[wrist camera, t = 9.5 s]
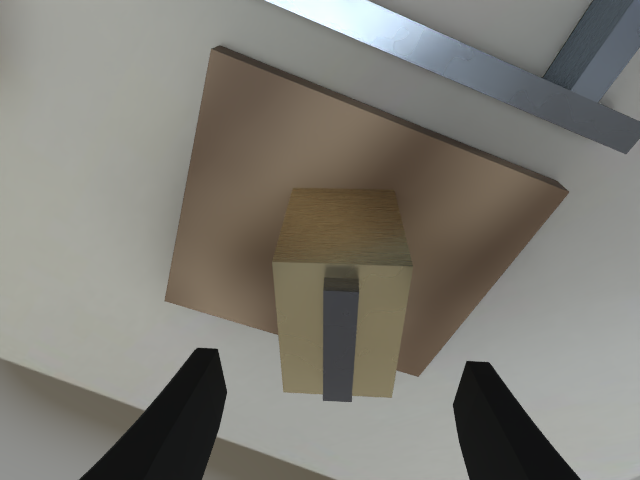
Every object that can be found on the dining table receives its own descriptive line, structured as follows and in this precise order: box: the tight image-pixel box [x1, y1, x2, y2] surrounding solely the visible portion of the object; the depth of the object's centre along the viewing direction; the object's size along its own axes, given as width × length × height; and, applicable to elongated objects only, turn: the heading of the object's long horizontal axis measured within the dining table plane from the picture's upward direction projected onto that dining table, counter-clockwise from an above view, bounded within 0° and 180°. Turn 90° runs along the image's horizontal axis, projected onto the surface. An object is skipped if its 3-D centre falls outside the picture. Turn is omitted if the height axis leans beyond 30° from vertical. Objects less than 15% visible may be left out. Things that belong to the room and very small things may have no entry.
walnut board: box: [165, 46, 569, 377], centre depth 17 cm, size 14×12×1 cm
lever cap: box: [272, 188, 413, 402], centre depth 14 cm, size 4×6×6 cm, turn 0°
